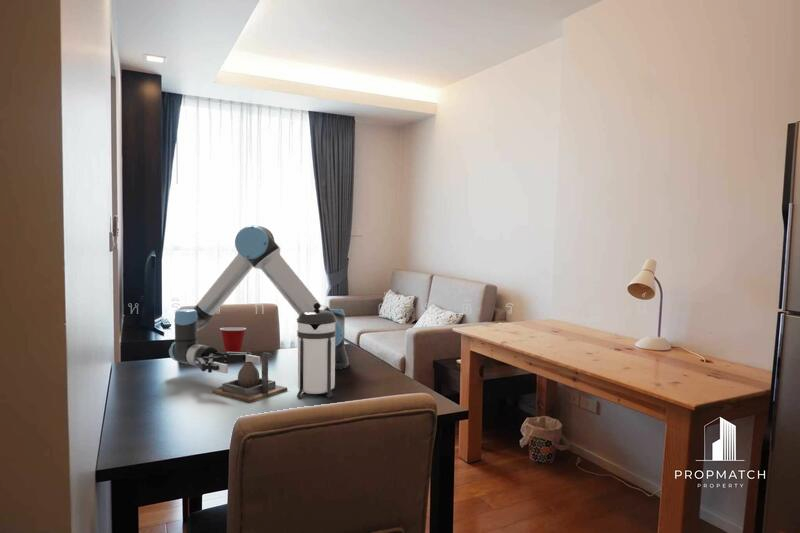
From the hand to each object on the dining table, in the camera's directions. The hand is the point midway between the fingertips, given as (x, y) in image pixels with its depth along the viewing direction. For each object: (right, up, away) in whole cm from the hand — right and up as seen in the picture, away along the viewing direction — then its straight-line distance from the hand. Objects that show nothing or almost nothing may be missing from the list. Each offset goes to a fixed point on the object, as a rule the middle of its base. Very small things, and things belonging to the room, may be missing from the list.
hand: (243, 364), depth 170 cm
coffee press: (+24, -9, -1) cm, 26 cm away
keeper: (+2, -9, 0) cm, 9 cm away
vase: (+2, -8, -1) cm, 8 cm away
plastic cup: (-20, -6, +52) cm, 56 cm away
